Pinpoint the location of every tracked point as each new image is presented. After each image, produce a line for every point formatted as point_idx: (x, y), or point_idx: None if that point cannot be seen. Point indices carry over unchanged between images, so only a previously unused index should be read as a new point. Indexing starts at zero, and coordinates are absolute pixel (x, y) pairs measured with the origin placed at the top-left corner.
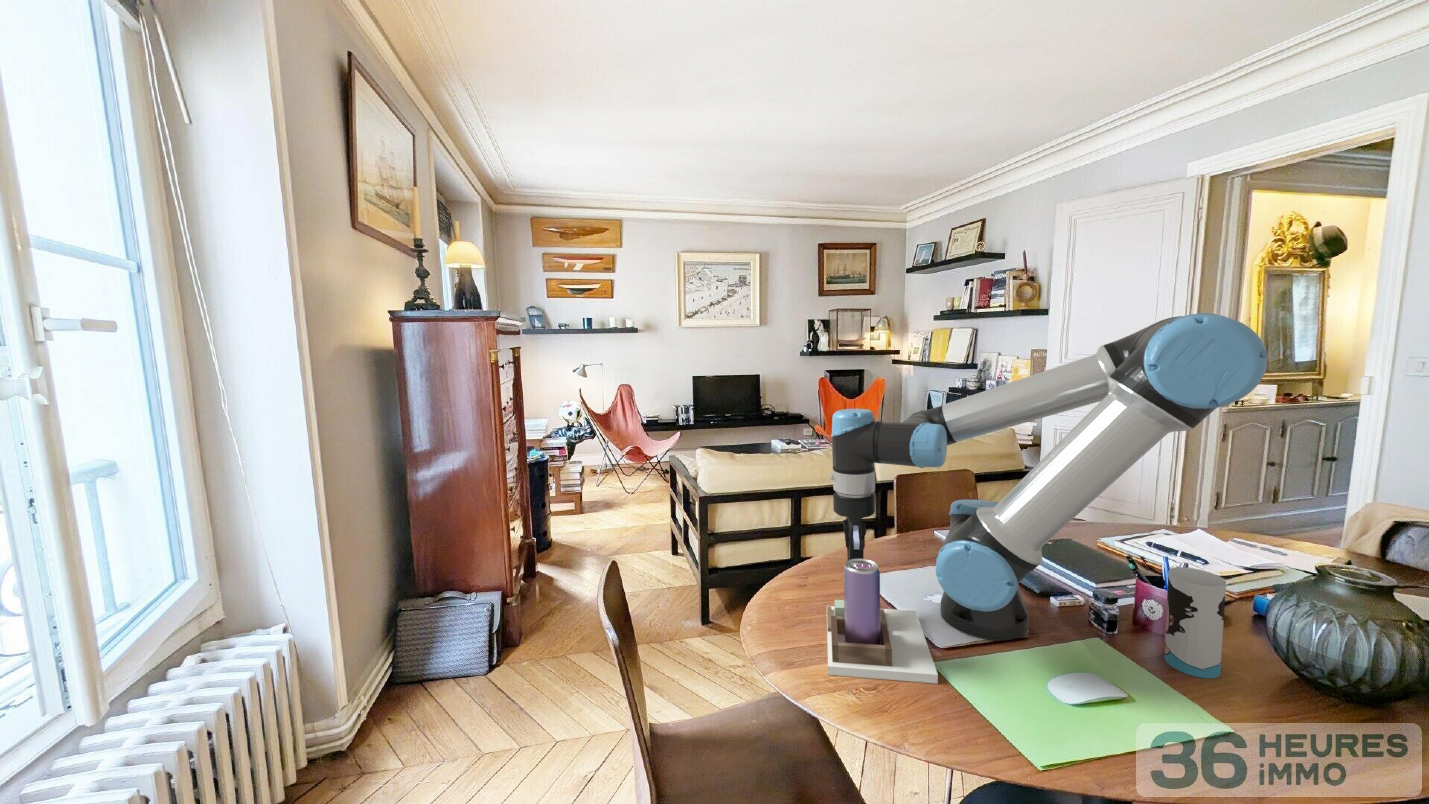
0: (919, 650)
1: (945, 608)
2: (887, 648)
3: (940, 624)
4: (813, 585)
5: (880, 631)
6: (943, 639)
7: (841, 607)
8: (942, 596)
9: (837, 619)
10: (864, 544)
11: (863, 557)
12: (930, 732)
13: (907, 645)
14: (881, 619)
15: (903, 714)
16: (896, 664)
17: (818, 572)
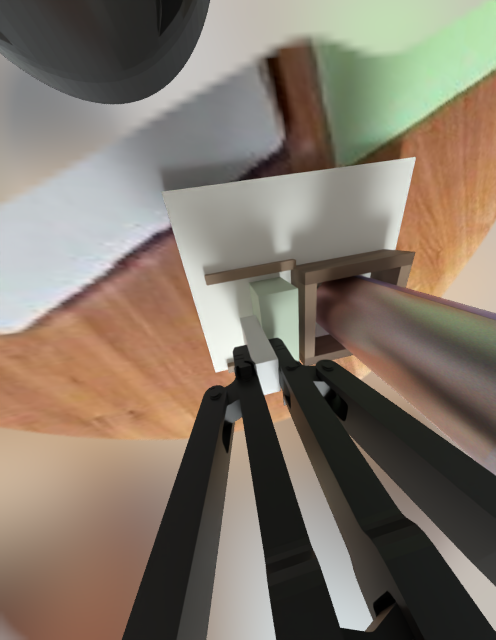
0: (339, 192)
1: (133, 58)
2: (412, 260)
3: (172, 118)
4: (124, 402)
5: (368, 278)
6: (247, 121)
7: (297, 360)
8: (45, 45)
9: (313, 354)
10: (450, 571)
11: (489, 471)
12: (487, 190)
13: (323, 219)
14: (309, 280)
15: (449, 229)
16: (379, 241)
17: (59, 411)
